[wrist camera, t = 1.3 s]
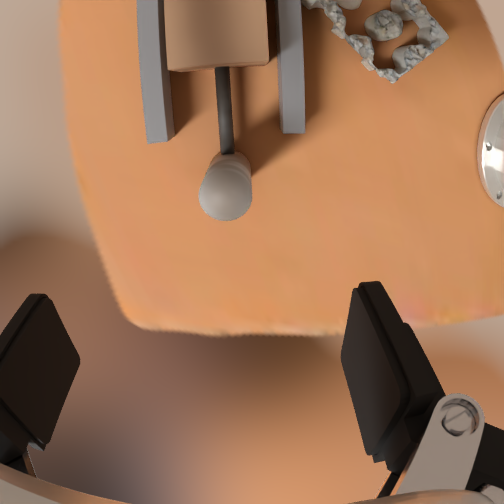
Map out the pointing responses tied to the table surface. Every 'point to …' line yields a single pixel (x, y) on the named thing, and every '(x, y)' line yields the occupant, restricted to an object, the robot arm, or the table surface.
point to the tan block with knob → (219, 82)
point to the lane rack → (158, 75)
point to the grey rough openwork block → (387, 32)
